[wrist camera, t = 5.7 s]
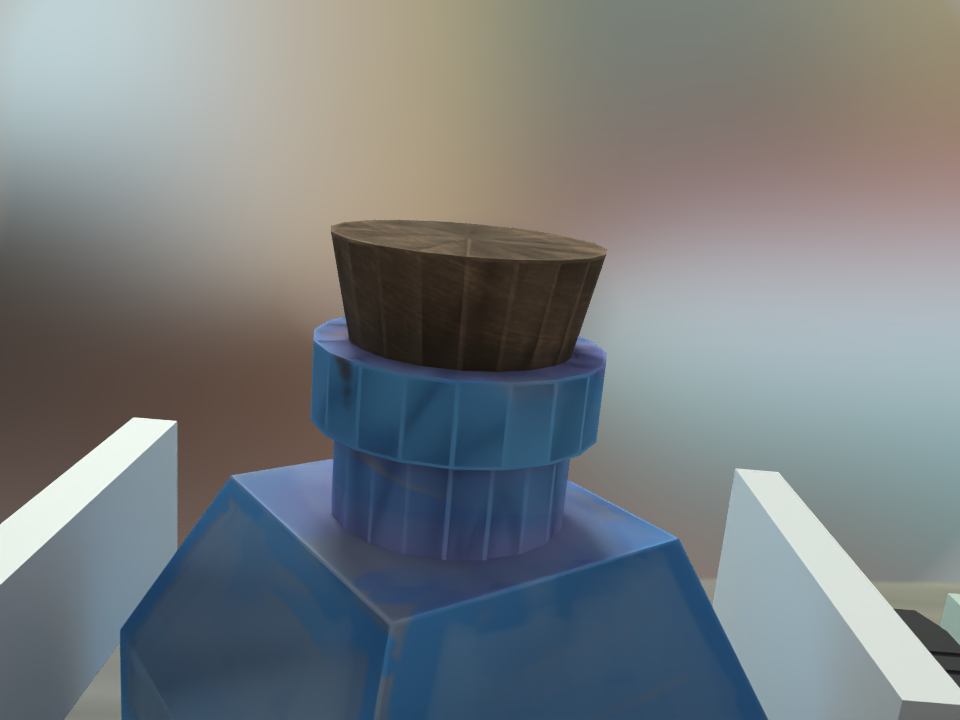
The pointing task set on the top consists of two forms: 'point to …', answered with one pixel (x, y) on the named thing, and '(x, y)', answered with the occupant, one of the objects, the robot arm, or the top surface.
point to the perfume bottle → (437, 522)
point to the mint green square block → (952, 616)
